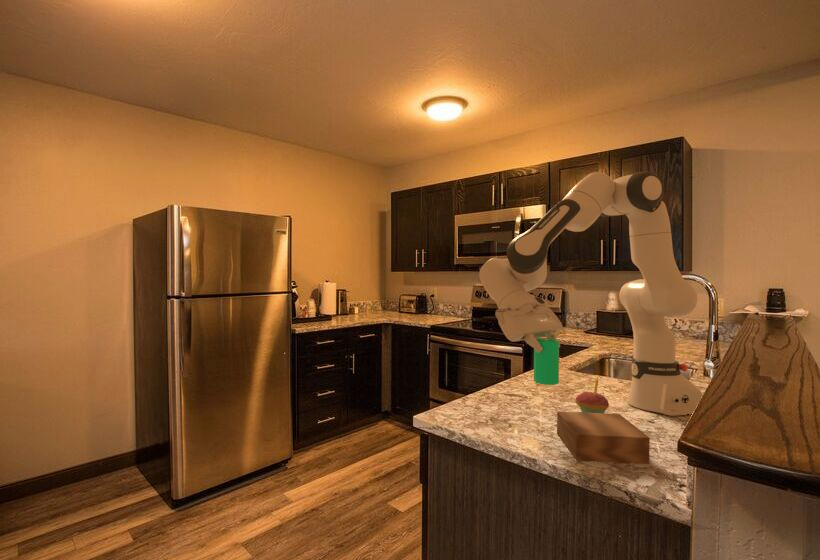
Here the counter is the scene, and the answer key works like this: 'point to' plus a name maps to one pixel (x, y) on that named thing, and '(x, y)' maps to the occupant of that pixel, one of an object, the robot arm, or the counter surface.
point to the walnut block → (602, 438)
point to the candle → (547, 363)
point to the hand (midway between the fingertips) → (549, 349)
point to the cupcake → (592, 401)
